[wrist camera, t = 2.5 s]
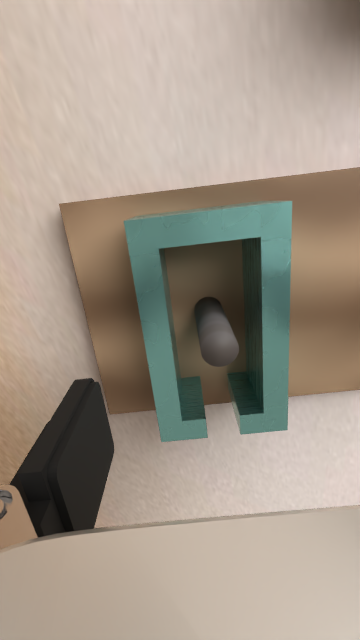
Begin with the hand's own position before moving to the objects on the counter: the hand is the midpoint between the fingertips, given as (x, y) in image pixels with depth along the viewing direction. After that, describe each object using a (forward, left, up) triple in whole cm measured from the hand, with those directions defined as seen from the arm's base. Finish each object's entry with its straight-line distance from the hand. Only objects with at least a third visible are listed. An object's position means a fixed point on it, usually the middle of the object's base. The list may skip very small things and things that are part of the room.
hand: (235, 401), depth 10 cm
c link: (-1, 0, -8) cm, 8 cm away
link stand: (-1, +4, -9) cm, 10 cm away
